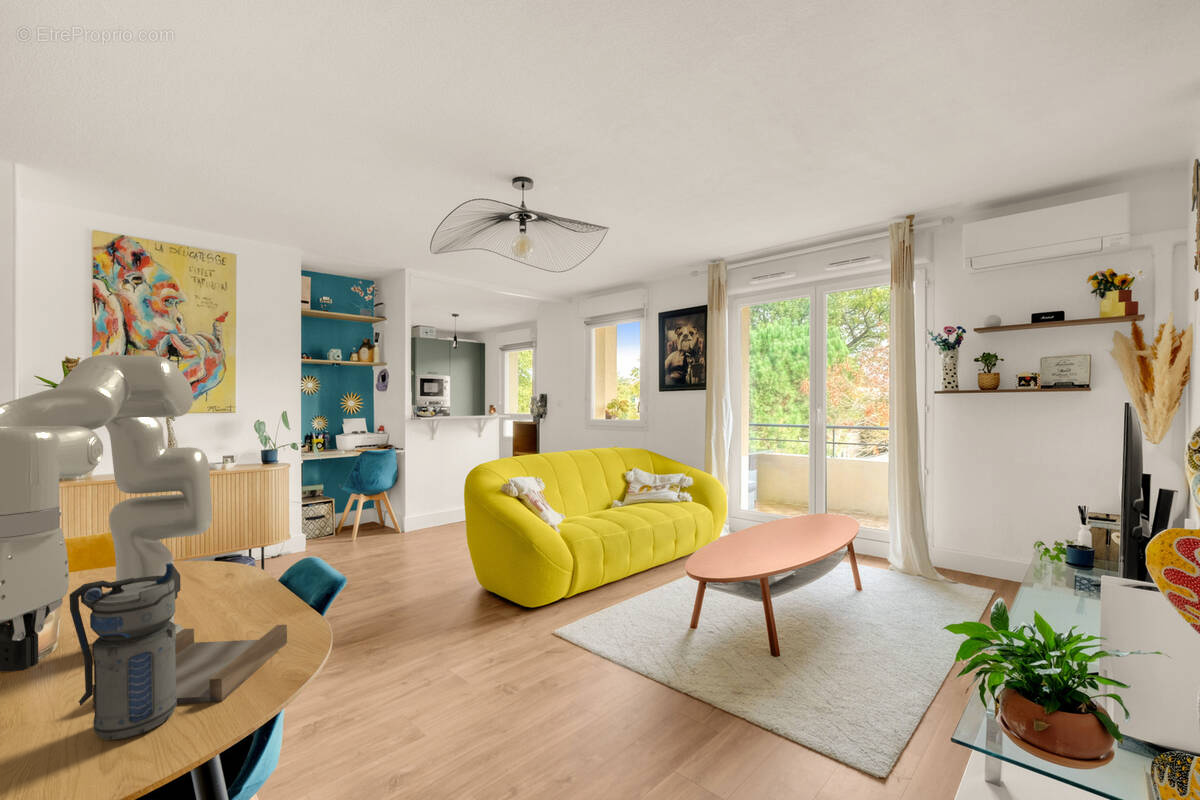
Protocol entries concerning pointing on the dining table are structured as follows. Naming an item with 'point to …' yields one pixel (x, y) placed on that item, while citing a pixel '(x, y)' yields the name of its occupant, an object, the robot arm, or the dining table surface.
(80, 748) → the dining table surface
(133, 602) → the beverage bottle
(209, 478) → the robot arm
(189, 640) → the u rest
